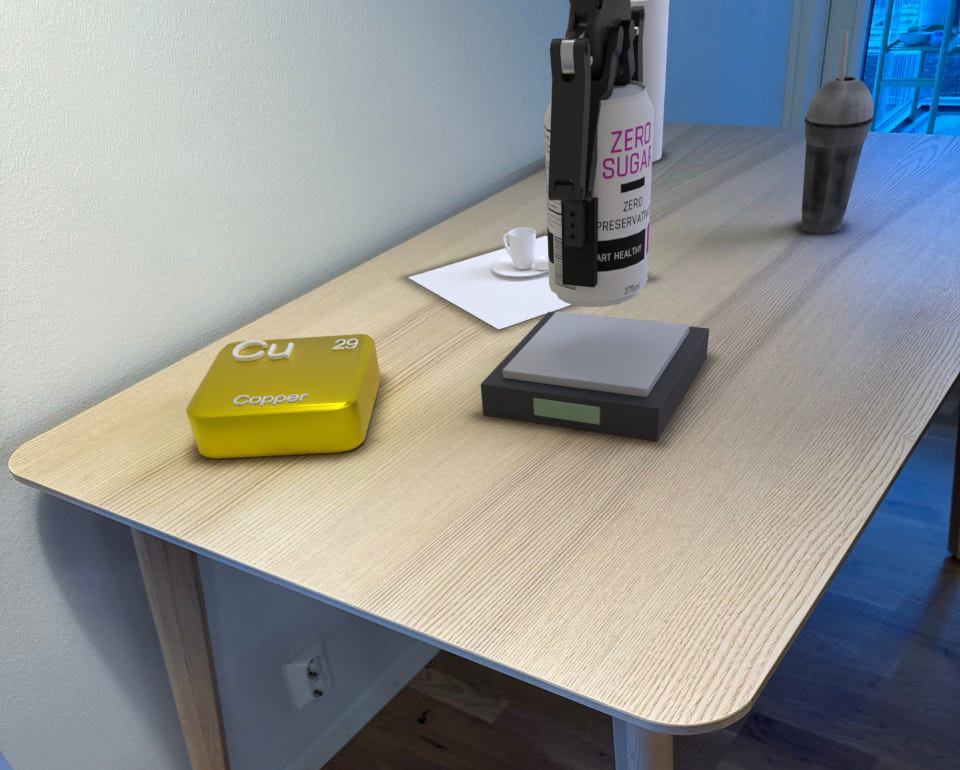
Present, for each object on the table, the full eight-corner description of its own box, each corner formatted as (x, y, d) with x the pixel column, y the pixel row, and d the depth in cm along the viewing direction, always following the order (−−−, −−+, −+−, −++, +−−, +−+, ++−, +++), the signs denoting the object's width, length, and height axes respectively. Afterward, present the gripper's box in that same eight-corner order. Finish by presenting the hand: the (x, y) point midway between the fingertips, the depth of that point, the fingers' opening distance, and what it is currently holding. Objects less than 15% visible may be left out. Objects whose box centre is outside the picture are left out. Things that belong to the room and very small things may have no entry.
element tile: (193, 461, 79) (176, 411, 76) (235, 382, 90) (222, 335, 87) (362, 453, 77) (353, 402, 74) (383, 373, 89) (376, 326, 85)
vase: (670, 154, 136) (679, -8, 123) (644, 167, 133) (650, 1, 119) (607, 146, 142) (609, -8, 129) (581, 158, 138) (580, 0, 125)
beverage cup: (866, 225, 108) (905, 25, 94) (825, 242, 105) (859, 38, 92) (816, 212, 112) (847, 20, 99) (776, 228, 110) (802, 32, 96)
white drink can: (569, 269, 81) (567, 77, 71) (658, 277, 78) (669, 77, 68) (534, 304, 76) (526, 102, 66) (628, 314, 73) (635, 104, 63)
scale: (706, 358, 85) (710, 319, 83) (656, 442, 75) (659, 400, 72) (549, 340, 91) (548, 303, 89) (482, 415, 81) (478, 375, 78)
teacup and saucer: (576, 269, 105) (575, 233, 102) (519, 288, 102) (517, 251, 99) (533, 250, 110) (531, 215, 108) (478, 267, 108) (475, 232, 105)
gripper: (600, -93, 69) (597, 220, 84) (485, -58, 55) (507, 309, 70) (697, -100, 66) (677, 225, 81) (602, -65, 52) (599, 319, 68)
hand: (598, 264), depth 76 cm, fingers closed on white drink can, 8 cm apart
